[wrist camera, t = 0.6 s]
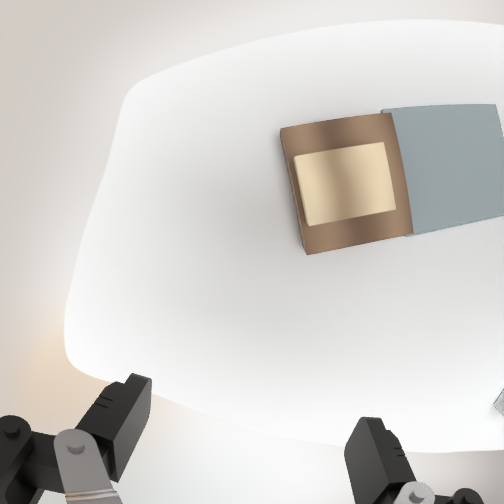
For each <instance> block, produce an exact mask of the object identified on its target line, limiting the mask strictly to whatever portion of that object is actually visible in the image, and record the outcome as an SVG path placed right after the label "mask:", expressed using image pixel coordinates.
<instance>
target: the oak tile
mask: <svg viewBox="0 0 504 504" xmlns="http://www.w3.org/2000/svg"><path fill="white" fill-rule="evenodd" d="M293 161H294V165H295V170H296V174H297V179H298V184H299V189H300V193H301V198H302V203H303V208H304V213H305V218H306V223H307V224H308V225H309V226H313V225H318V224H323V223H328V222H333V221H338V220H344V219H349V218H354V217H359V216H364V215H370V214H375V213H380V212H385V211H391V210H396V205H395V198H394V192H393V187H392V181H391V176H390V170H389V165H388V160H387V155H386V151H385V146H384V142H380V143H372V144H365V145H359V146H352V147H346V148H339V149H333V150H327V151H321V152H316V153H310V154H305V155H299V156H295V157H294V158H293Z"/></svg>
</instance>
